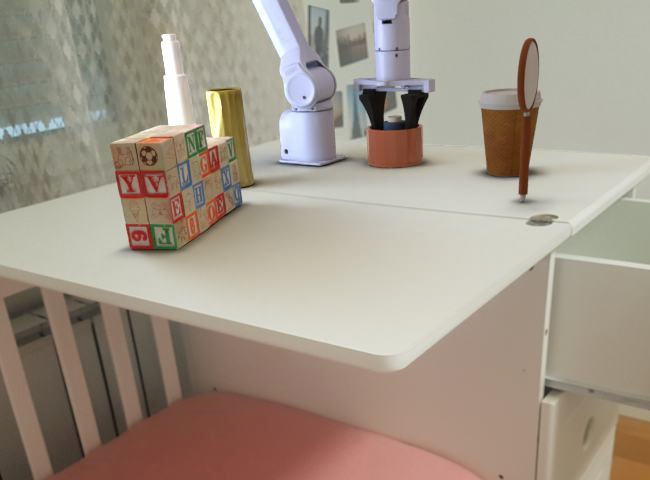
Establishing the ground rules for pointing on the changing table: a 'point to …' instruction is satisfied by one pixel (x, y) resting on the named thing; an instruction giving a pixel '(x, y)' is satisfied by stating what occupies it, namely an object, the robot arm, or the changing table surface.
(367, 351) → the changing table surface
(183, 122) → the cosmetic bottle
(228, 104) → the vase
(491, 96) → the disposable coffee cup
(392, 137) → the cup
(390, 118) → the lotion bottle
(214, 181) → the stack of blocks
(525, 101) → the magnifying glass
